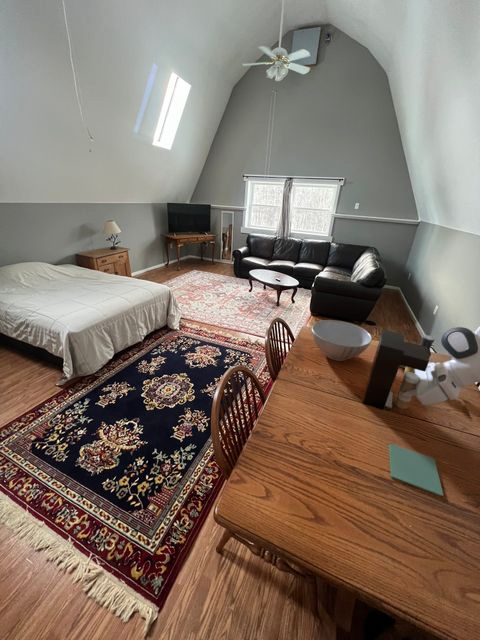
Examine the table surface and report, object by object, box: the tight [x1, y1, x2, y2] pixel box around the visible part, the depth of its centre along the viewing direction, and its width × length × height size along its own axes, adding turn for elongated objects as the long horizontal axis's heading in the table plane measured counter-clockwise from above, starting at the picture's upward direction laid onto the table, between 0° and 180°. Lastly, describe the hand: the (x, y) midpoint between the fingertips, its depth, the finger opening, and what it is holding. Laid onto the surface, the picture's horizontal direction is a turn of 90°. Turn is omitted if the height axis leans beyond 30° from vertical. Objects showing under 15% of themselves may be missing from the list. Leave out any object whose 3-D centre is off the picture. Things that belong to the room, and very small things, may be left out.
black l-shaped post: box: [362, 329, 430, 411], centre depth 96 cm, size 14×14×25 cm
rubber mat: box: [388, 443, 444, 498], centre depth 76 cm, size 12×12×1 cm
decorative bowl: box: [311, 319, 373, 362], centre depth 128 cm, size 27×27×12 cm
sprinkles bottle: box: [393, 372, 419, 410], centre depth 97 cm, size 5×5×13 cm
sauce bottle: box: [403, 334, 436, 375], centre depth 111 cm, size 7×6×20 cm
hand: (404, 389), depth 97 cm, fingers closed on sprinkles bottle, 4 cm apart
